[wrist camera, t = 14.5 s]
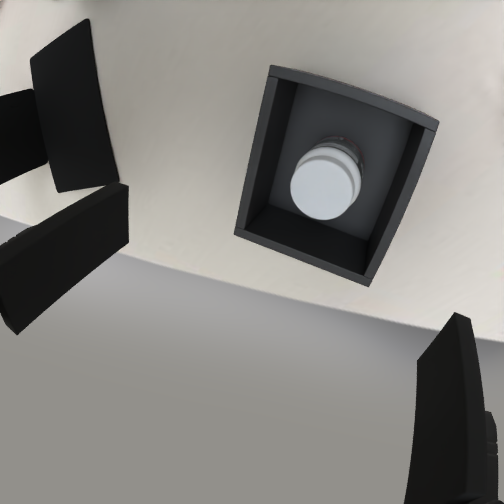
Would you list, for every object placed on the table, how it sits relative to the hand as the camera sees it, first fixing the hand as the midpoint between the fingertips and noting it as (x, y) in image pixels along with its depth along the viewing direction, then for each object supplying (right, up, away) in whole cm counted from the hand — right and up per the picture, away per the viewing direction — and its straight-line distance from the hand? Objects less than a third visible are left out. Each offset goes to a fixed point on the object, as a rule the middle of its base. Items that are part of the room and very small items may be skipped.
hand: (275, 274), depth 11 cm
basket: (+7, +9, +16) cm, 19 cm away
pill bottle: (+7, +9, +15) cm, 19 cm away
